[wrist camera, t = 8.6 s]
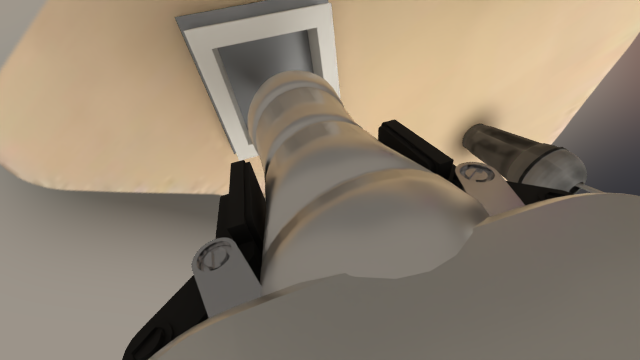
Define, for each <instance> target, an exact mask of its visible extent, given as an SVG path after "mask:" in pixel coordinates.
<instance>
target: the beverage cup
mask: <svg viewBox="0 0 640 360" xmlns="http://www.w3.org/2000/svg"><path fill="white" fill-rule="evenodd" d="M462 143H463V146H464V147H465V148H467V149H468V150H469V151H470V152H471V153H472V154H473V155H475V156H476V157H477V158H479V159H480V160H482V161H483V162H484V163H486V164H487V165H489V166H491V167H493V168H495V169H496V170H497V171H498V172H499V173H500V175H502V176H503V177H504V178H506V179H507V180H508V181H510V182H516V183H522V184H528V185H534V186H540V187H547V188H553V189H558V190H564V191H567V192H569V193H571V194H573V195H574V194H576V193H577V192H578V191H579V190H580V189H581V188H582V189H584V190H587V191H589V192H591V193H604V192H602V191H599V190H596V189H594V188H591V187H589V186H586V185H584V184H585V182H586V178H587V173H586V168H585V166H584V164H583V162H582V161H581V160H580V159H579V158H578V157H577V156H576V155H574V154H573V153H571V152H569V151H568V150H567V149H565V148H563V147H556V146H553V145H549V144H545V143H543V144H542V143H539V142H536V141H533V140H530V139H527V138H524V137H521V136H518V135H515V134H512V133H509V132H506V131H503V130H500V129H497V128H494V127H491V126H486V125H483V124H477V125H475V126H473V127H472V128H470V129H469V130H468V131H467V133H466V134H465V136H464V138H463V142H462Z"/></svg>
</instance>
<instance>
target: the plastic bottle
mask: <svg viewBox="0 0 640 360" xmlns="http://www.w3.org/2000/svg"><path fill="white" fill-rule="evenodd" d="M248 130H249V135H250V138H251V140H252V143H253V145H254V148H255V150H256V152H257V154H258V155H259V157H260V160H261V163H262V167H263V170H264V174H265V194H266V219H265V230H264V242H263V254H262V267H261V276H260V285H261V286H262V287H261V297H262V296H264V295H267V294H270V293H272V292H275V291H278V290H281V289H283V288H286V287H289V286H291V285H294V284H297V283H300V282H305V281H310V280H315V279H320V278H324V277H329V276H333V275H338V274H343V273H346V274H348V275H350V276H354V277H368V278H389V279H398V278H402V277H407V276H411V275H416V274H420V273H424V272H429V271H431V270H433V269H435V268H436V267H438V266H439V265H441V264H442V263H444V262H446V261H447V260H449V259H451V258H452V257H454V256H456V255H457V254H458V252H459V251H460V250H461V248H462V247H463V245H464V244H465V243H466V241H467V240H468V238H469V237H470V236H471V234H472V233H473V228H474V227H475V226H477V225H478V224H480V223H481V222H483V221H484V220H485V219H486V218H488V217H490V215H489V214H488V212H487V211H486V210H485V208H484V207H483V205H482V204H481V203H480V202H479V201H477V200H476V199H474V198H473V197H471V196H470V195H468V194H467V193H465V192H464V191H462V190H461V189H460V188H458V187H457V186H455V185H454V184H452V183H451V182H449V181H448V180H446V179H444V178H443V177H441V176H439V175H438V174H435V173H433V172H431V171H430V170H428V169H426V168H425V167H423V166H421V165H419V164H417V163H416V162H414V161H412V160H410V159H409V158H407V157H405V156H403V155H401V154H400V153H398V152H396V151H394V150H393V149H391V148H389V147H387V146H385V145H384V144H382V143H381V142H380V141H379V140H377V139H376V138H375V137H373V136H372V135H371V134H370V133H368V132H367V131H365V130H364V129H363V128H362V127H360V126H359V125H358V124H356V123H355V121H354V120H353V119H352V118H351V116H350V115H349V114H348V112H347V111H346V110H345V108H344V106H343V103H342V101H341V100H340V98H339V96H338V95H337V93H336V92H335V90H334V89H333V87H332V86H331V85H330V84H329V83H328V82H327V81H326V80H324V79H323V78H322V77H320V76H319V75H316V74H313V73H311V72H307V71H300V70H292V71H284V72H281V73H278V74H276V75H274V76H272V77H271V78H269V79H268V80H267V81H265V82H264V83H263V84H262V85H261V87H260V88H259V89H258V91H257V92H256V94H255V95H254V97H253V100H252V102H251V104H250V107H249V112H248Z"/></svg>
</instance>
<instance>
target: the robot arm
mask: <svg viewBox="0 0 640 360" xmlns="http://www.w3.org/2000/svg"><path fill="white" fill-rule="evenodd" d="M378 140H379V141H380V142H381V143H382V144H384V145H385V146H387V147H389V148H391V149H393V150H394V151H396V152H398V153H400V154H401V155H403V156H405V157H407V158H409V159H410V160H412V161H414V162H416V163H417V164H419V165H421V166H423V167H425V168H426V169H428V170H430V171H431V172H433V173H435V174H438V175H439V176H441V177H443V178H444V179H446V180H448V181H449V182H451V183H452V184H454V185H455V186H457V187H458V188H460V189H461V190H462V191H464V192H465V193H467V194H468V195H470V196H471V197H473V198H474V199H476V200H477V201H479V202H480V203H481V204H482V205H483V207H484V208H485V210H486V211H487V212H488V214H489V215H490V217H488V218H486V219H485V220H484V221H483V222H481V223H480V224H478V225H477V226H475V227H474V228H473V233H472V234H471V236H470V237H469V238H468V240H467V241H466V243H465V244H464V245H463V247H462V248H461V250H460V251H459V252H458V254H457V255H456V256H454V257H452V258H451V259H449V260H447V261H446V262H444V263H442V264H441V265H439V266H438V267H436V268H435V269H433V270H431V271H429V272H424V273H420V274H416V275H411V276H407V277H402V278H398V279H389V278H368V277H354V276H350V275H348V274H346V273H343V274H338V275H333V276H329V277H324V278H320V279H315V280H310V281H305V282H300V283H297V284H294V285H291V286H289V287H286V288H283V289H281V290H278V291H275V292H272V293H270V294H267V295H264V296H262V297H261V287H262V286H261V285H260V276H261V267H262V254H263V242H264V230H265V219H266V201H265V198H264V196H263V193H262V191H261V188H260V186H259V183H258V181H257V178H256V176H255V173H254V171H253V168H252V166H251V163H250V162H247V163H245V161H244V160H242V161H238V162H234V163H231V172H230V187H229V194H227V195H223V196H221V197H220V203H219V212H218V221H217V230H216V239H214V240H212V241H210V242H208V243H206V244H205V245H204V246H202V247H201V248H200V249H199V251H197V253H196V254H195V256H194V258H193V261H192V271H193V274H194V275H193V276H192V277H191V278H190V279H189V280H188V282H186V284H185V285H184V286H183V287H182V288H181V289H180V290H179V291H178V292H177V293H176V294H175V295H174V296H173V297H172V298H171V299H170V300H169V301H168V302H167V303H166V304H165V305H164V306H163V307H162V308H161V309H160V310H159V311H158V312H157V314H155V315H154V316H153V318H151V319H150V320H149V322H147V324H146V325H145V326H144V327H143V328H142V329H141V330H140V331H139V332H138V333H137V334H136V335H135V337H134V338H133V339H132V340H131V342H130V343H129V345H128V347H127V349H126V350H125V353H124V356H123V359H122V360H640V196H635V195H627V194H618V193H617V194H616V193H585V194H576V195H573V194H571V193H569V192H567V191H564V190H558V189H553V188H547V187H540V186H534V185H528V184H522V183H516V182H510V181H505V180H504V178H503V177H502V176H501V175H500V173H499V172H498V171H497V170H496V169H495V168H493V167H491V166H489V165H486V164H483V163H478V162H466V163H462V164H459V165H458V166H457V167H456V166H455V165H454V164H453V159H451V158H450V157H448V156H447V155H446V154H444V153H443V152H441V151H440V150H438V149H437V148H435V147H434V146H432V145H431V144H430V143H428V142H427V141H425V140H424V139H422V138H421V137H419V136H418V135H417V134H415V133H414V132H412V131H411V130H409V129H408V128H406V127H405V126H403V125H402V124H401V123H399V122H398V121H396V120H391V121H387V122H383V123H382V125H381V126H380V127H379V130H378Z"/></svg>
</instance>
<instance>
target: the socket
mask: <svg viewBox="0 0 640 360" xmlns="http://www.w3.org/2000/svg"><path fill="white" fill-rule="evenodd" d="M175 19H176V21H177V24H178V26H179V28H180V31H181V33H182V35H183V37H184V40H185V42H186V44H187V47H188V49H189V51H190V53H191V56H192V58H193V60H194V63H195V65H196V67H197V69H198V72H199V74H200V76H201V79H202V81H203V83H204V85H205V88H206V90H207V92H208V95H209V97H210V99H211V101H212V104H213V106H214V108H215V111H216V113H217V115H218V118H219V120H220V122H221V124H222V127H223V129H224V131H225V134H226V136H227V138H228V140H229V143H230V145H231V147H232V150H233V152H234V154H235V153H236V154H237V156H238V159H239V161H241V160H245V159H248V158H252V157H256V156H259V155H258V154H257V152H256V150H255V148H254V145H253V143H252V140H251V138H250V135H249V130H248V112H249V107H250V104H251V102H252V100H253V97H254V95H255V94H256V92H257V91H258V89H259V88H260V87H261V85H262V84H263V83H264V82H265V81H267V80H268V79H269V78H271V77H272V76H274V75H276V74H278V73H281V72H284V71H292V70H300V71H307V72H311V73H313V74H316V75H319V76H320V77H322V78H323V79H324V80H326V81H327V82H328V83H329V84H330V85H331V86H332V87H333V89H334V90H335V92H336V93H337V95H338V96H339V98H340V90H339V79H338V68H337V58H336V47H335V37H334V26H333V16H332V5H331V3H328V0H266V1H261V2H255V3H250V4H245V5H239V6H234V7H228V8H223V9H217V10H212V11H206V12H201V13H196V14H190V15H185V16H179V17H175Z"/></svg>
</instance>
